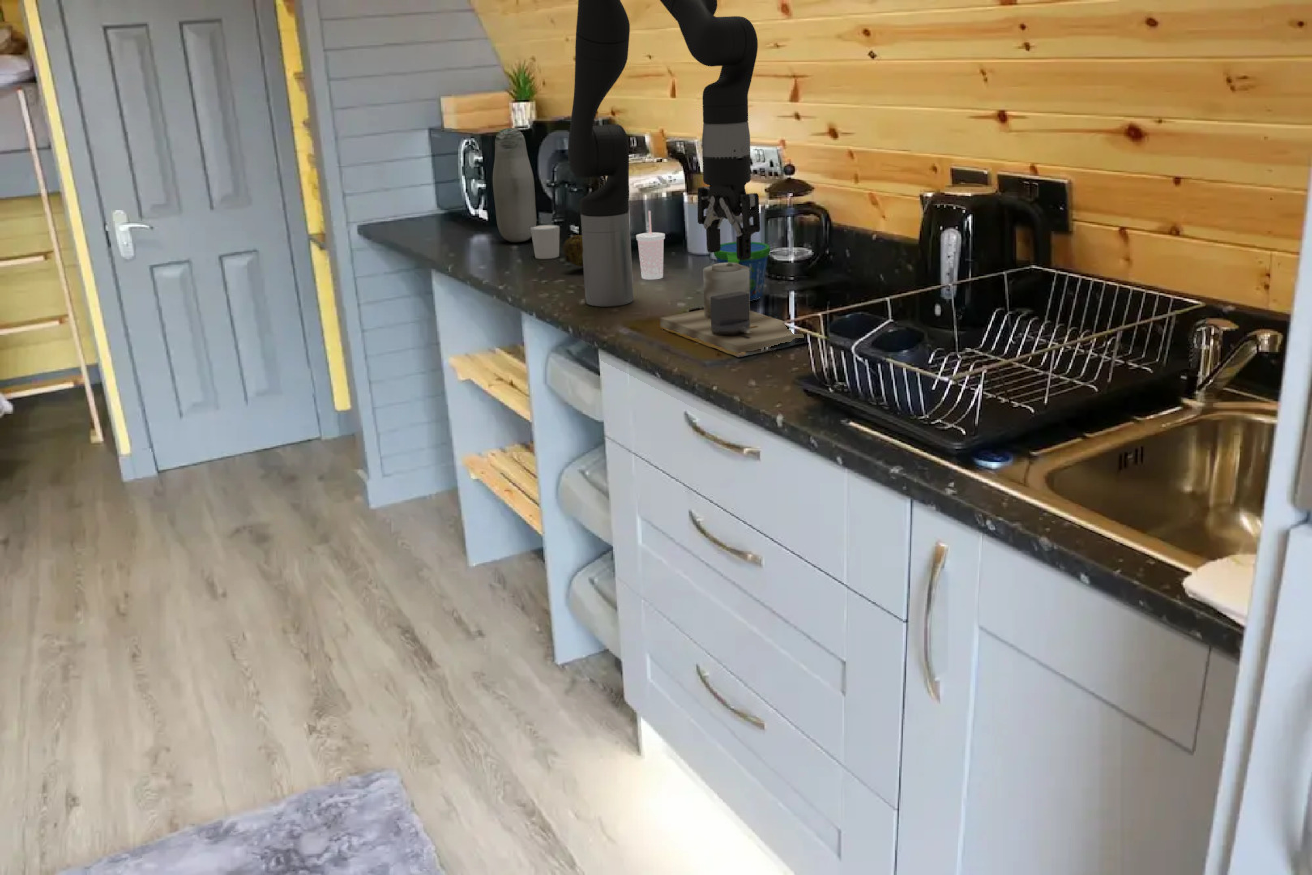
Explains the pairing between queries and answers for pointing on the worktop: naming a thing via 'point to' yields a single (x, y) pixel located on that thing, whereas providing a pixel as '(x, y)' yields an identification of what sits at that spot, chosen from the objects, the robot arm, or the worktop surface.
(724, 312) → the dark grey rotary knob
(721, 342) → the base
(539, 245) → the white tapered cup
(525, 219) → the grey bottle
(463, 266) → the worktop surface
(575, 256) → the potato
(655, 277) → the beverage cup
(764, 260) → the snack cup
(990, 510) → the worktop surface
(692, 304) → the worktop surface
